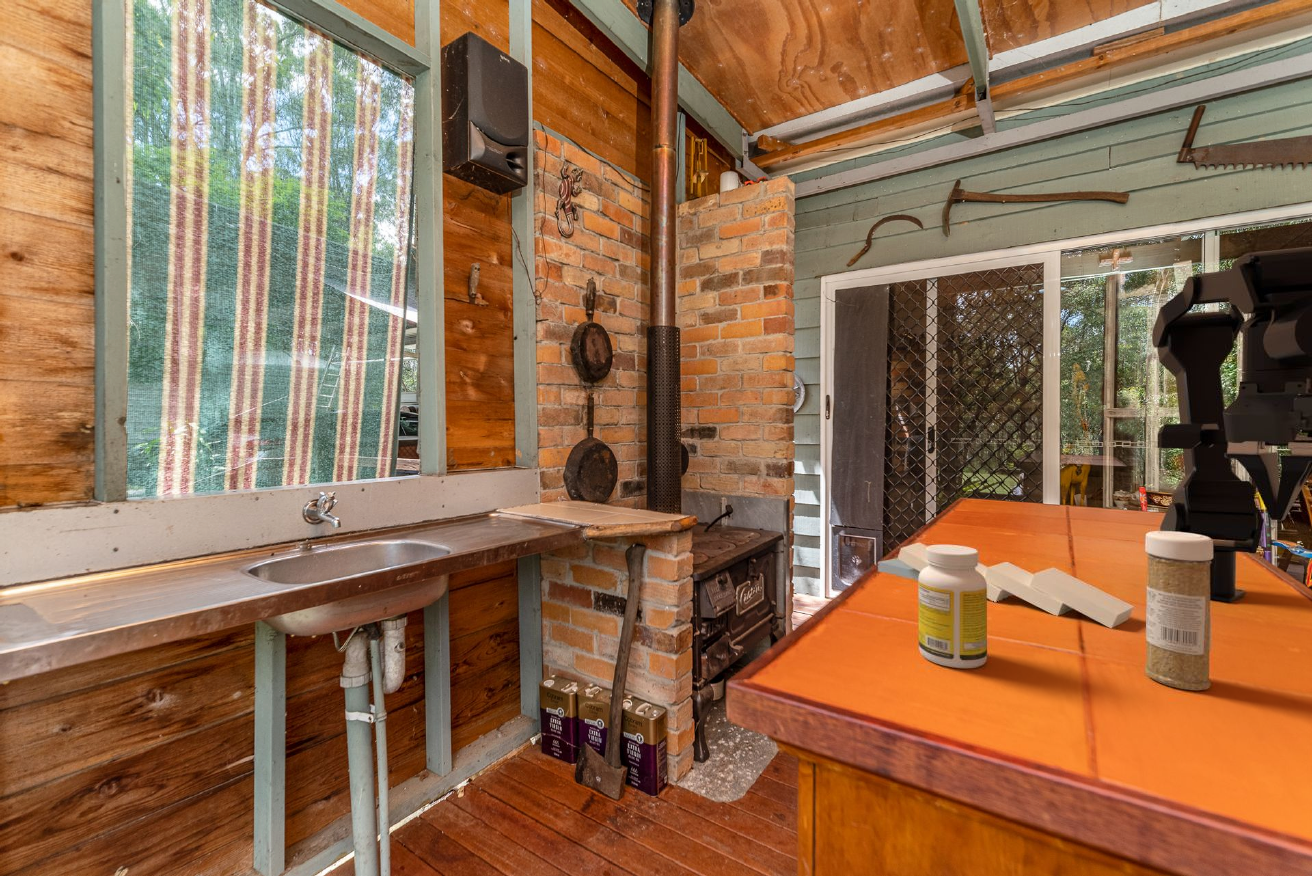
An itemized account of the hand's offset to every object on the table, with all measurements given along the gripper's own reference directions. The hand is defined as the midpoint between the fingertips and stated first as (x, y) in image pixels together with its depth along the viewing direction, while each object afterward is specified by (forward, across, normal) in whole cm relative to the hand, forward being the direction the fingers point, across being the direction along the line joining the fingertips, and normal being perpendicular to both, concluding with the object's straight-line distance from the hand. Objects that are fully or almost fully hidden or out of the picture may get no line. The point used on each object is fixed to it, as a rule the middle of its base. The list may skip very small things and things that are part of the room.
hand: (1277, 519), depth 61 cm
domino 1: (+12, -33, -8) cm, 36 cm away
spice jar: (+13, -2, -20) cm, 24 cm away
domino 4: (+12, -16, -8) cm, 22 cm away
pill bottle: (+13, -16, -32) cm, 38 cm away
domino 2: (+12, -29, -9) cm, 32 cm away
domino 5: (+12, -11, -7) cm, 18 cm away
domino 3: (+12, -23, -8) cm, 27 cm away
